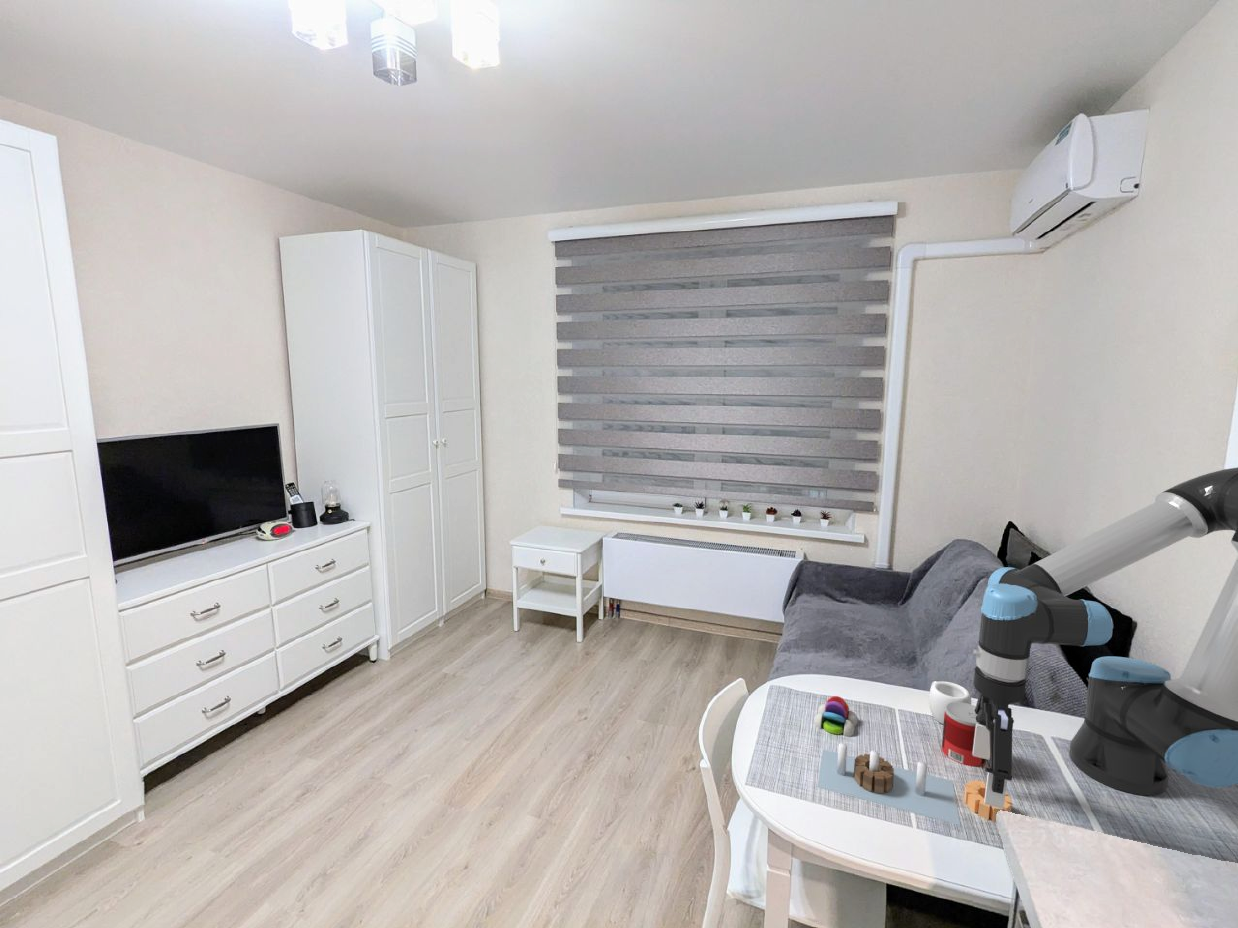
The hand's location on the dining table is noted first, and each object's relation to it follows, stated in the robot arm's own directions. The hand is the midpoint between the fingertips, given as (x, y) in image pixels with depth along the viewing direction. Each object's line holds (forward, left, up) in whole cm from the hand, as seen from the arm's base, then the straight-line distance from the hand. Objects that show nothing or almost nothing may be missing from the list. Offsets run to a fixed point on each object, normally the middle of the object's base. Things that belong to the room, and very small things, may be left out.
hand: (986, 779), depth 104 cm
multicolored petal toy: (+27, -16, -7) cm, 32 cm away
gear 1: (+19, +1, -5) cm, 19 cm away
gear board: (+17, +1, -7) cm, 18 cm away
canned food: (+2, -15, -7) cm, 17 cm away
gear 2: (0, 0, -7) cm, 7 cm away
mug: (+4, -31, -7) cm, 32 cm away
